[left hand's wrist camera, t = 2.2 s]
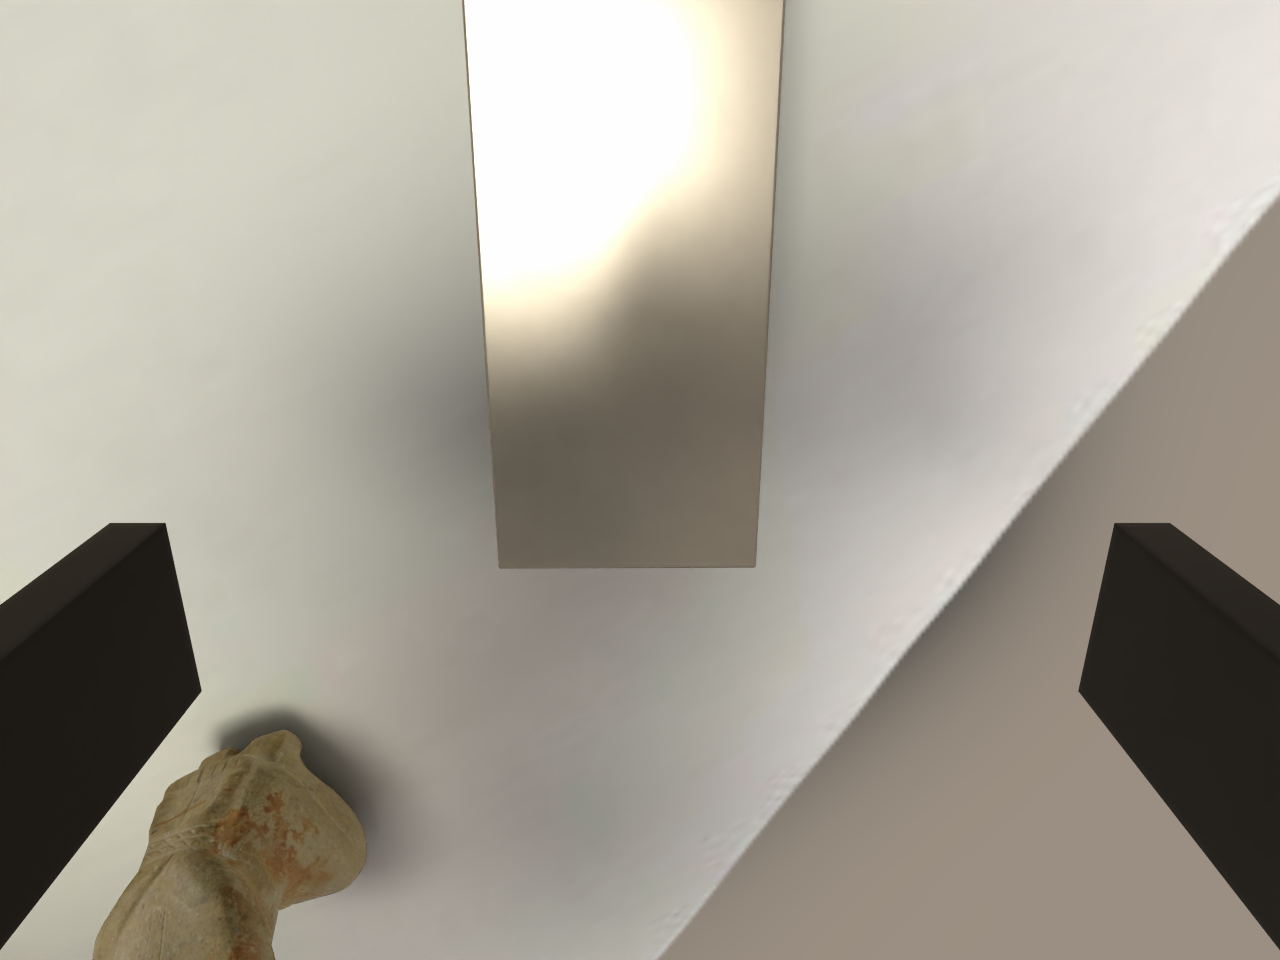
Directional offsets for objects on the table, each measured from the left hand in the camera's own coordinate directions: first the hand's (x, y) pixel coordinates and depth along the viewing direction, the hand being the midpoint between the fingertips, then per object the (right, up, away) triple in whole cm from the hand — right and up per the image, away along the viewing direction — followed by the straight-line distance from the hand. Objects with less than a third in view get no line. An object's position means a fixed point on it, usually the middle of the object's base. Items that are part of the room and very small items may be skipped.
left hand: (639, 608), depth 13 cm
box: (0, +13, +13) cm, 18 cm away
